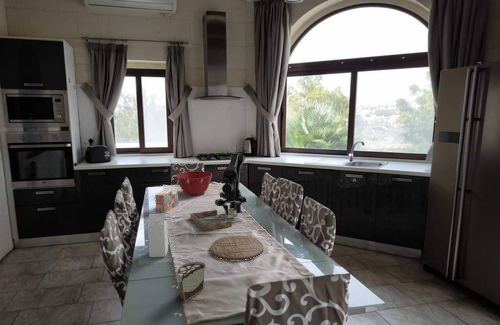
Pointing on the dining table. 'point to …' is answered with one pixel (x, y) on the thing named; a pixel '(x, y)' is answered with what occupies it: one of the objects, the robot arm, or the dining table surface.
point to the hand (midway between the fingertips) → (231, 214)
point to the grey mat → (233, 219)
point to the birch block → (231, 213)
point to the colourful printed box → (166, 200)
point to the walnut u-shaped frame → (209, 226)
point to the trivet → (237, 247)
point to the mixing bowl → (194, 181)
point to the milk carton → (157, 235)
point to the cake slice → (190, 279)
